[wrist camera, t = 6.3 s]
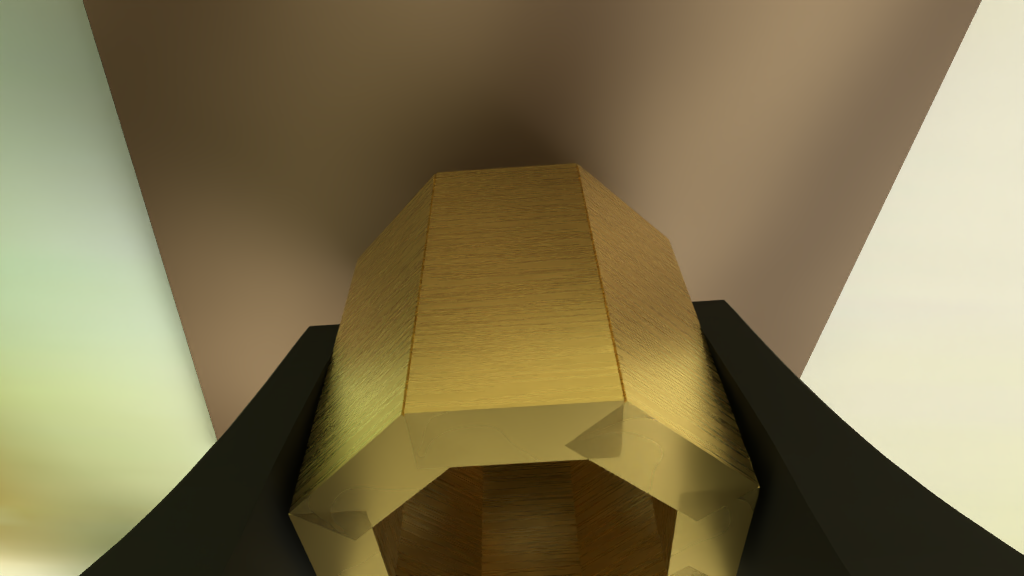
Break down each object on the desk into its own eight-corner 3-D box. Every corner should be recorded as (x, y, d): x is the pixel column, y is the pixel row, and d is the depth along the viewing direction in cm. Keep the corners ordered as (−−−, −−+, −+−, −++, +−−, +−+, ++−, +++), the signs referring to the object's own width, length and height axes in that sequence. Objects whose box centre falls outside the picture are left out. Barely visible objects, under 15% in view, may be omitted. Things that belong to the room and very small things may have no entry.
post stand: (1033, -208, 10) (1456, -178, 6) (731, 469, 20) (798, 669, 15) (32, -303, 9) (-397, -356, 5) (242, 455, 19) (167, 664, 15)
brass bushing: (677, 155, 11) (787, 390, 7) (654, 392, 14) (718, 641, 10) (336, 179, 11) (245, 423, 7) (394, 408, 14) (356, 660, 10)
